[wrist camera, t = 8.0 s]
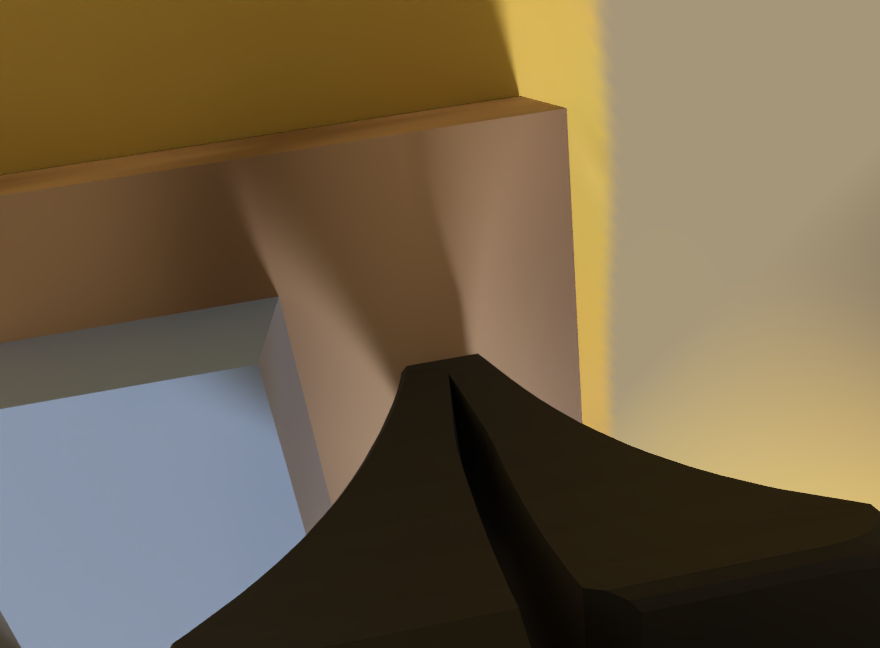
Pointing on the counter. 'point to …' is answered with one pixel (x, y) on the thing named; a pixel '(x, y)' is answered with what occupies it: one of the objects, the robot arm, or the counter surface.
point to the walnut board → (324, 252)
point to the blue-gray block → (150, 474)
